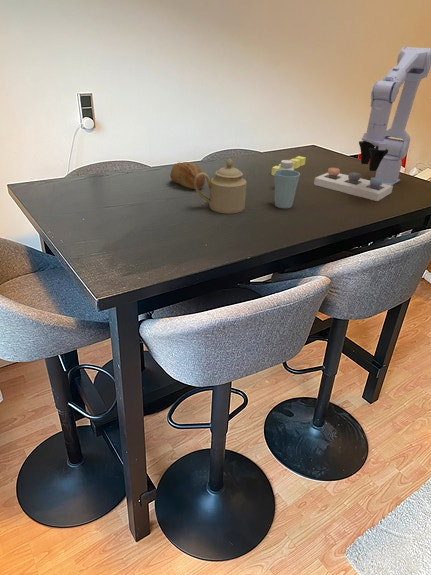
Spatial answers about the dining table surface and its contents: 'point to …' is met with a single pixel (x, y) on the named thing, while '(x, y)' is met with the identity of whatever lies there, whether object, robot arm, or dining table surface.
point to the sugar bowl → (225, 190)
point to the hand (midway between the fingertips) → (368, 167)
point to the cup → (285, 187)
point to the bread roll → (187, 175)
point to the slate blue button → (375, 183)
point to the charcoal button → (354, 177)
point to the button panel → (353, 186)
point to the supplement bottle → (286, 165)
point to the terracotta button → (333, 173)
